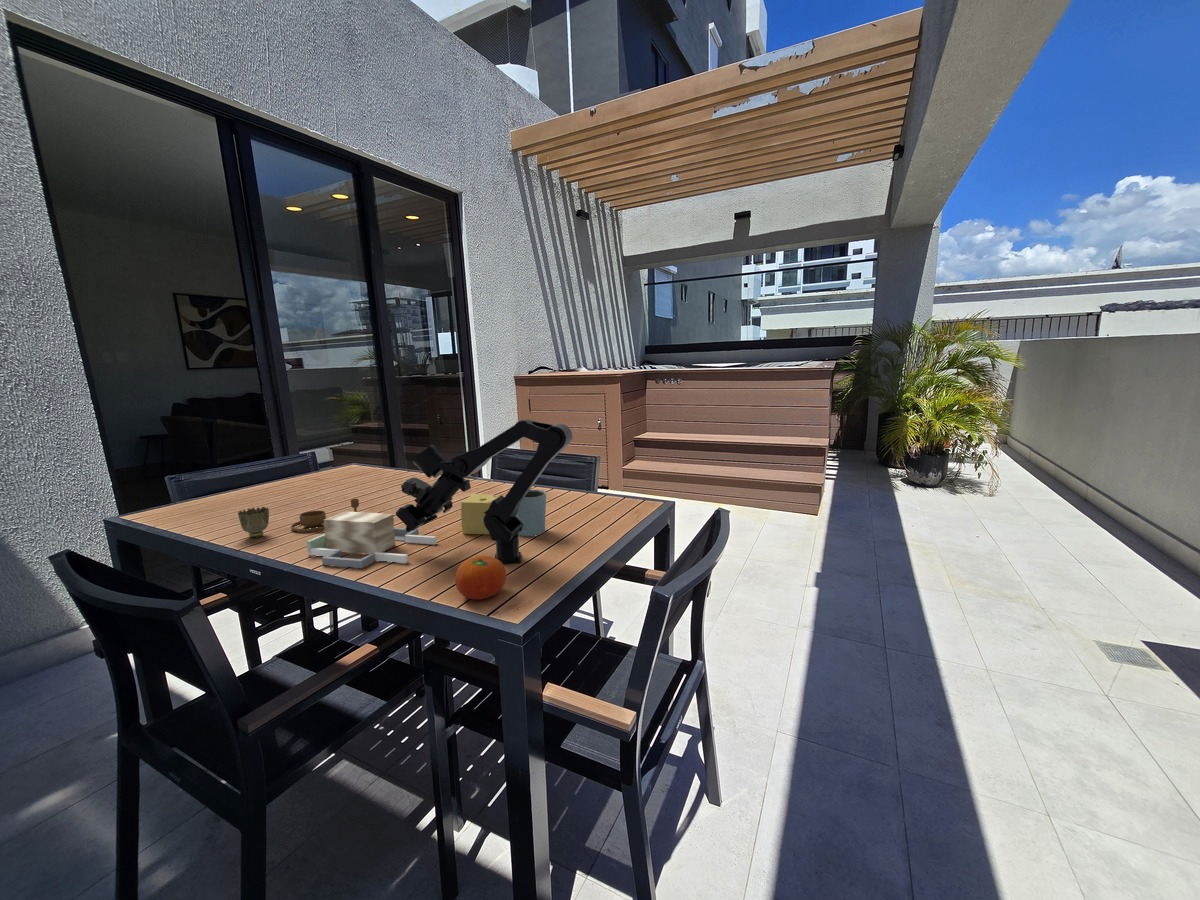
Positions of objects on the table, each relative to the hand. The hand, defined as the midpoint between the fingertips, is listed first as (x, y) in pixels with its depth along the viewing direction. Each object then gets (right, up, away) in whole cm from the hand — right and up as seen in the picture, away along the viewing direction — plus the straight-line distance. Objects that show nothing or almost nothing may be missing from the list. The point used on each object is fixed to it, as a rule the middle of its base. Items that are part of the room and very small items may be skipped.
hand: (407, 530), depth 129 cm
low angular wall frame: (-9, -6, +3) cm, 11 cm away
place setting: (-35, -3, +25) cm, 43 cm away
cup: (-49, -4, +14) cm, 51 cm away
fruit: (+26, -10, -25) cm, 37 cm away
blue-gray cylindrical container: (+30, -4, +17) cm, 35 cm away
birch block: (-14, -6, +4) cm, 16 cm away
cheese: (+15, -3, +20) cm, 25 cm away
